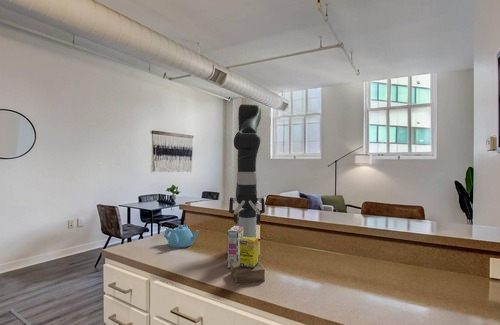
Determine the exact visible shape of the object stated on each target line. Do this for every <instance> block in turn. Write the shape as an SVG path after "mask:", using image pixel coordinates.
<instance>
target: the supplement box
mask: <svg viewBox="0 0 500 325" xmlns="http://www.w3.org/2000/svg"><path fill="white" fill-rule="evenodd" d="M258 263H259V237H256V238H254V237H246V236H244V237H243V238H242V239H240V267H244V268H251V269H254V268H255V267H256V266H257V264H258Z"/></svg>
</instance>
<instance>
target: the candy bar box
mask: <svg viewBox="0 0 500 325" xmlns="http://www.w3.org/2000/svg"><path fill="white" fill-rule="evenodd" d="M243 229H244V226H239V225H233V226H232V227H230V228H229V229H228V230H227V247H226V248H227V252H226V254H227V257H226V258H227V259H226V262H227V263H226V264H227V265H226V268H227V269H231V263H234V262H240V239H242V238H243Z"/></svg>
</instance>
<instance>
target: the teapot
mask: <svg viewBox="0 0 500 325" xmlns="http://www.w3.org/2000/svg"><path fill="white" fill-rule="evenodd" d="M199 232H200V229H199V230H198V229H196V231H195V232H194V233H192V231H191V229H190V228H189V227H188V225H182V224H181V225H180V224H179V225H178V227H175V228H170V227H167V228H166V229H165V232H164V234H163V237H164V238H165V240H167V243H168V245H169V246H170V247H171V248H174V249H175V248H176V249H182V248H188V247H190V246H192V245H193V244H194V242H195V241H196V238H197V236H198V234H199Z"/></svg>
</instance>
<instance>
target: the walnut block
mask: <svg viewBox="0 0 500 325" xmlns="http://www.w3.org/2000/svg"><path fill="white" fill-rule="evenodd" d="M265 270H266V269H265V268H264V267H263V266H262V265H261V264H260V263H259V262H258V264H257V266H256V267H255V268H254V269H251V268H244V267H240V262H234V263H231V268H230V275H231V278H232V279H233V280H234V282H235V283H236V285H237V284H240V285H246V284H247V283H248V284H254V283H264V282H265V281H266V278H265V277H266V276H265V272H266V271H265ZM248 284H247V285H248Z"/></svg>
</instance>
